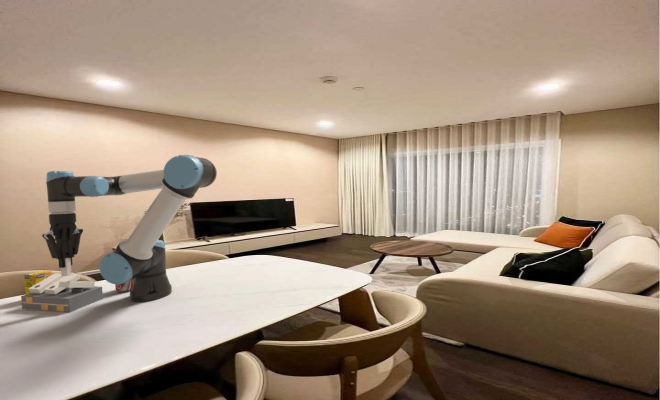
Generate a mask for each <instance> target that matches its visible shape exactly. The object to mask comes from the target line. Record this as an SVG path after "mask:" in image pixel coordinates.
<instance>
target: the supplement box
mask: <svg viewBox="0 0 660 400" xmlns="http://www.w3.org/2000/svg"><path fill="white" fill-rule="evenodd" d="M51 275H52V271H49V270H39V271H36V272H31V273H25V274H24V275H23V276H24V289H25V295H26V294H29V293H30V291H29V288H30V287H32V286H34V285H36V284H37V283H39V282H41V281H43V280H44V279H46V278H48V277H49V276H51Z"/></svg>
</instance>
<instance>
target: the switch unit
mask: <svg viewBox="0 0 660 400" xmlns="http://www.w3.org/2000/svg"><path fill="white" fill-rule="evenodd" d="M103 293H104V291H103V286H95V285H94V287H76V288H65V289H63V290H62V291H60V292H59V293H57V294H45V292H43V293H41V294H40V293H29V294H26V293H25V294H23V295H20V296H21V297H20V299H21V309H22V310H30V311H31V310H32V311H47V312H58V313H59V312H61V313H72V312H74V311H77V310H79V309H82V308H84V307H86V306H88V305H91V304H93V303H96V302H98V301H101V300H103V299H104V296H103V295H104V294H103Z"/></svg>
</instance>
